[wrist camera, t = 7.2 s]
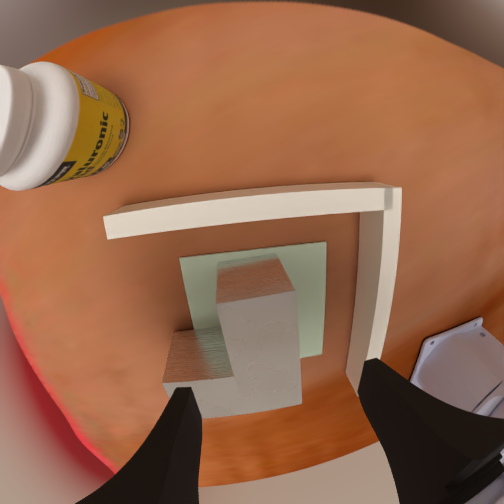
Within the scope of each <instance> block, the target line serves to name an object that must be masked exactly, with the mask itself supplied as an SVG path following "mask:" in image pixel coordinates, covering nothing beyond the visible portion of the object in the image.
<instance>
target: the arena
mask: <svg viewBox="0 0 504 504" xmlns="http://www.w3.org/2000/svg"><path fill="white" fill-rule="evenodd" d="M401 199H402V188H401V187H397V186H392V185H388V184H384V183H379V182H344V183H321V184H304V185H289V186H275V187H264V188H252V189H242V190H233V191H223V192H215V193H206V194H198V195H191V196H183V197H176V198H169V199H163V200H156V201H150V202H143V203H137V204H132V205H126V206H122V207H120V208H118V209H116V210H114V211H112V212H111V213H109V214H107V215H105V216H103V219H104V224H105V229H106V234H107V239H115V238H121V237H128V236H135V235H143V234H150V233H157V232H165V231H172V230H180V229H188V228H196V227H205V226H213V225H222V224H231V223H240V222H249V221H259V220H269V219H279V218H290V217H301V216H312V215H324V214H337V213H350V212H360V220H359V252H358V269H357V283H356V295H355V305H354V315H353V323H352V331H351V339H350V346H349V352H348V359H347V365H346V371H345V373H346V375H347V377H348V379H349V381H350V383H351V385H352V387H353V389H354V391H355V393H356V394H357V396H358V393H357V391H358V387H359V382H360V378H361V374H362V369H363V365H364V361H366V360H369V359H373V358H378V359H379V360H380V357H381V353H382V349H383V345H384V340H385V336H386V331H387V326H388V321H389V316H390V310H391V304H392V298H393V292H394V285H395V278H396V270H397V261H398V251H399V239H400V224H401Z"/></svg>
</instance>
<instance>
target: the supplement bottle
mask: <svg viewBox="0 0 504 504" xmlns="http://www.w3.org/2000/svg"><path fill="white" fill-rule="evenodd" d="M128 133H129V117H128V113H127V110H126V107H125V106H124V104H123V102H122V101H121V100H120V99H119V98H118V97H117V96H116V95H115V94H113V93H112V92H110V91H109V90H107V89H105V88H103V87H101V86H99V85H98V84H96V83H94V82H92V81H90V80H88V79H86V78H84V77H82V76H80V75H78V74H76V73H74V72H72V71H70V70H68V69H66V68H64V67H62V66H60V65H57V64H54V63H50V62H36V63H32V64H29V65H27V66H24V67H22V68H21V69H15V68H12V67H7V66H3V65H0V185H1V186H3V187H5V188H7V189H10V190H17V191H21V190H28V189H33V188H38V187H41V186H45V185H49V184H53V183H57V182H62V181H67V180H72V179H77V178H82V177H87V176H91V175H94V174H97V173H100V172H102V171H103V170H105V169H106V168H108V167H109V166H110V165H111V164H113V163H114V161H115V160H116V159H117V158H118V157H119V155H120V154H121V152H122V150H123V148H124V146H125V144H126V141H127V138H128Z"/></svg>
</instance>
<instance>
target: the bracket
mask: <svg viewBox="0 0 504 504" xmlns="http://www.w3.org/2000/svg"><path fill="white" fill-rule="evenodd" d="M216 307H217V312H218V316H219V320H220V324H221V326H217V327H209V328H202V329H194V330H186V331H178V332H174V334H173V338H172V342H171V346H170V350H169V354H168V358H167V363H166V367H165V371H164V376H163V380H162V385H163V387H164V389H165V390H166V392H167V394H168V396H169V398H171V396H172V394H173V392H174V390H175V389H176V388H177V387H192V390H193V393H194V396H195V399H196V402H197V405H198V407H199V410H200V413H201V415H202V418H213V417H223V416H232V415H240V414H248V413H255V412H261V411H267V410H273V409H278V408H284V407H289V406H294V405H298V404H302V388H301V366H300V348H299V332H298V317H297V304H296V291H295V289H294V287H293V285H292V283H291V281H290V279H289V277H288V275H287V273H286V271H285V269H284V267H283V265H282V264H281V262H280V260H279V258H278V256H277V254H276V253H272V254H266V255H260V256H254V257H248V258H242V259H236V260H230V261H224V262H218V272H217V290H216Z"/></svg>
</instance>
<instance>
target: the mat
mask: <svg viewBox="0 0 504 504" xmlns="http://www.w3.org/2000/svg"><path fill="white" fill-rule="evenodd" d="M272 253H276V254H277V256H278V258H279V260H280V262H281V264H282V265H283V267H284V269H285V271H286V273H287V275H288V277H289V279H290V281H291V283H292V285H293V287H294V289H295V291H296V304H297V317H298V332H299V348H300V358H304V357H310V356H315V355H320V354H322V346H323V332H324V315H325V292H326V241H321V242H312V243H303V244H294V245H285V246H276V247H266V248H257V249H248V250H240V251H231V252H222V253H213V254H204V255H195V256H186V257H180V258H179V260H180V265H181V271H182V276H183V281H184V286H185V291H186V295H187V300H188V305H189V309H190V314H191V318H192V323H193V327H194V329H202V328H209V327H217V326H221V324H220V320H219V316H218V312H217V307H216V290H217V272H218V262H224V261H230V260H236V259H242V258H248V257H254V256H260V255H266V254H272Z"/></svg>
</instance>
